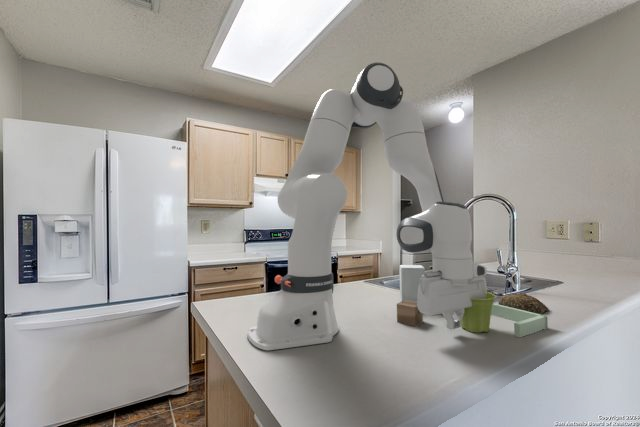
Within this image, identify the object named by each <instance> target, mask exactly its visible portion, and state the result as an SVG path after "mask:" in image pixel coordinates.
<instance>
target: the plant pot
mask: <svg viewBox="0 0 640 427" xmlns="http://www.w3.org/2000/svg"><path fill="white" fill-rule="evenodd" d="M496 297H497V296H496V295H495V294H494V293H492V292H488V291H487V298H486V299H474V298H470V300H471V301H472V307H468V308H464V315H463V317H462V320H461V328H462V329H465V330H466V331H468V332H471V333H477V334H478V333H481V334H482V333H483V332H484V333H487V332H489V331H490V325H491V317H492V314H491V310H492V304H493V303H494V302H495V299H496ZM494 304H495V303H494Z"/></svg>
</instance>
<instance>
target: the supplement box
mask: <svg viewBox="0 0 640 427" xmlns="http://www.w3.org/2000/svg"><path fill="white" fill-rule="evenodd" d="M425 270H426V269H425V267H424V266H423V265H422V264H400V265H399V303H400V302H402V301H404V300H408V301H414V302H418V290H419V285H420V279H421V278H422V276H423V275H424V274H425V273H426V271H425ZM424 278H426V277H424Z"/></svg>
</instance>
